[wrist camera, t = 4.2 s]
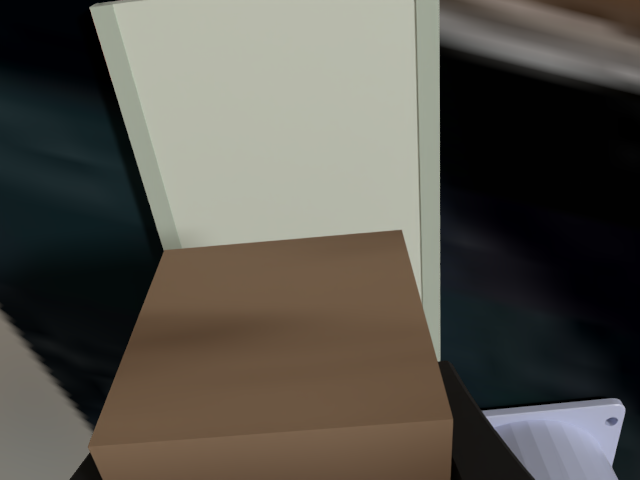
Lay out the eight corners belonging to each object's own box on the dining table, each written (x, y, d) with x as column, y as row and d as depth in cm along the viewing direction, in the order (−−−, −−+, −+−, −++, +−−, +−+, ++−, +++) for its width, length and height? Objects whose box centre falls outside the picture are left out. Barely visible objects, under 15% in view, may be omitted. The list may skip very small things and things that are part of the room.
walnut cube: (404, 399, 15) (443, 609, 10) (209, 413, 15) (169, 627, 11) (401, 229, 12) (453, 419, 8) (164, 249, 12) (88, 447, 8)
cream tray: (437, 356, 22) (440, 366, 22) (208, 380, 23) (206, 390, 22) (434, -40, 15) (439, -37, 15) (95, 3, 15) (89, 7, 15)
